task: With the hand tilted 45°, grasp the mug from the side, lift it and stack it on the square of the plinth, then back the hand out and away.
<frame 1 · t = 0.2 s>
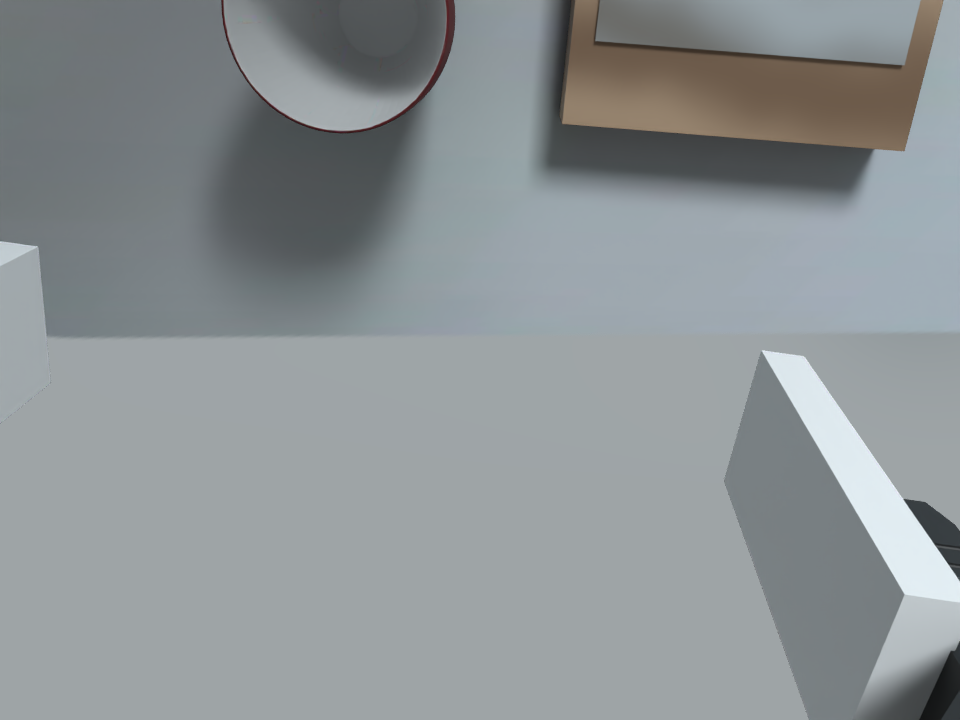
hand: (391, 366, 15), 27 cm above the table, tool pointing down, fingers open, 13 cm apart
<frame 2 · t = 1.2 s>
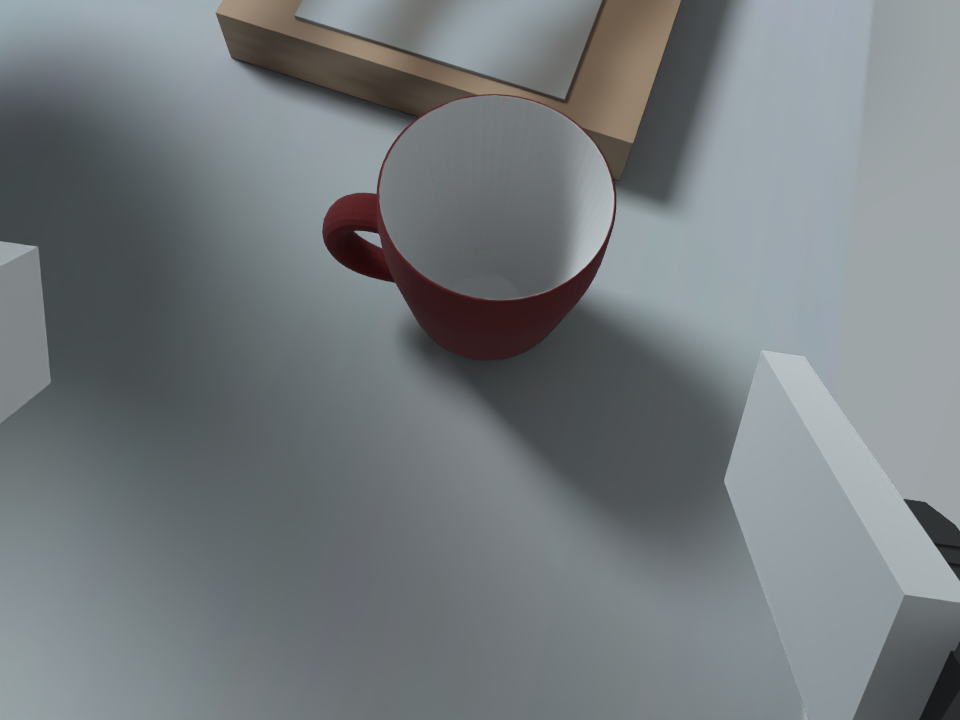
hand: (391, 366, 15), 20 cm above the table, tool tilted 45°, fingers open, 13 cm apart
mug: (456, 312, 38), on the table
plinth: (473, 3, 44), on the table
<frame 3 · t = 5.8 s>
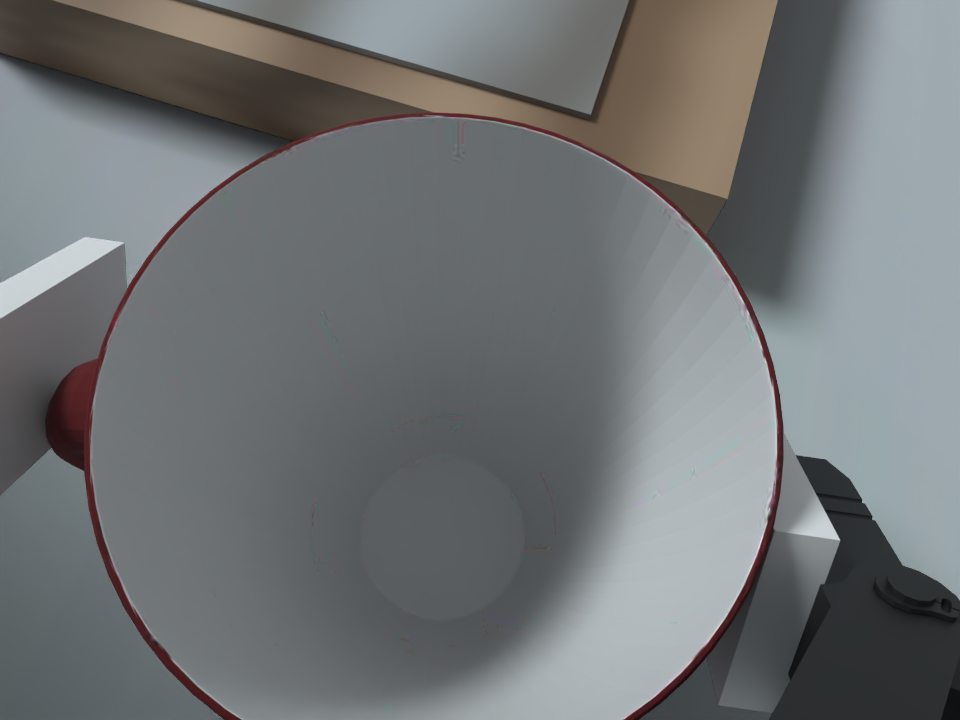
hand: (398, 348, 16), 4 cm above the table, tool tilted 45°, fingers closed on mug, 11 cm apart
mug: (388, 536, 19), on the table, touching gripper
when the fingers open (8 cm above the table, at t = 11.9 s): mug stays where it is, resting on plinth.
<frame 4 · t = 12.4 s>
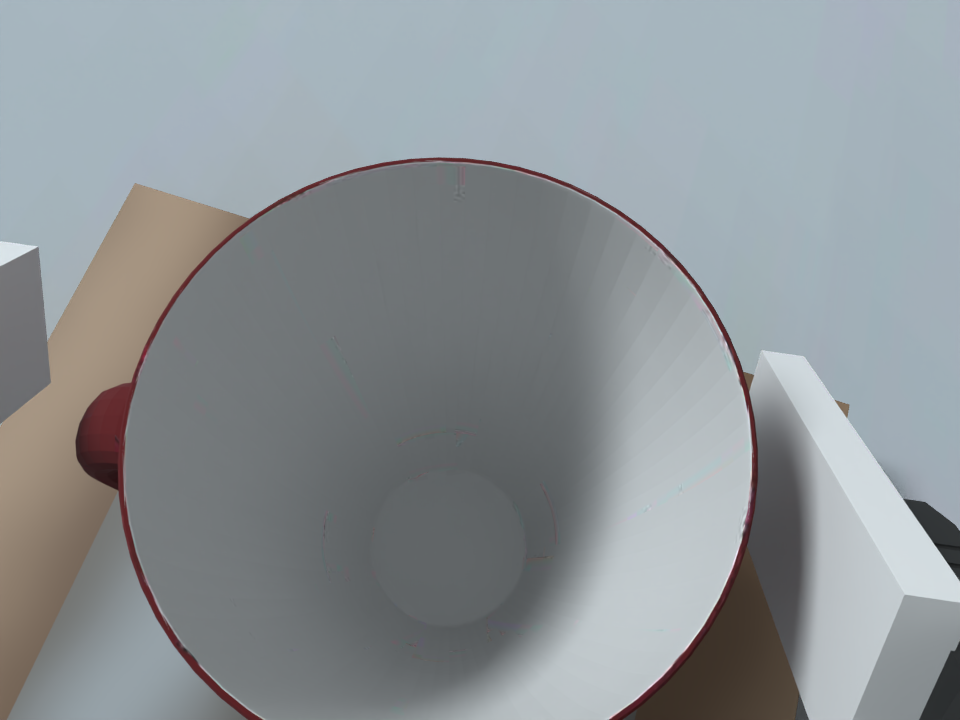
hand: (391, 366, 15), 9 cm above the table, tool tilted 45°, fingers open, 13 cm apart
mug: (396, 546, 20), point 3 cm above the table, touching plinth
plinth: (390, 577, 23), on the table
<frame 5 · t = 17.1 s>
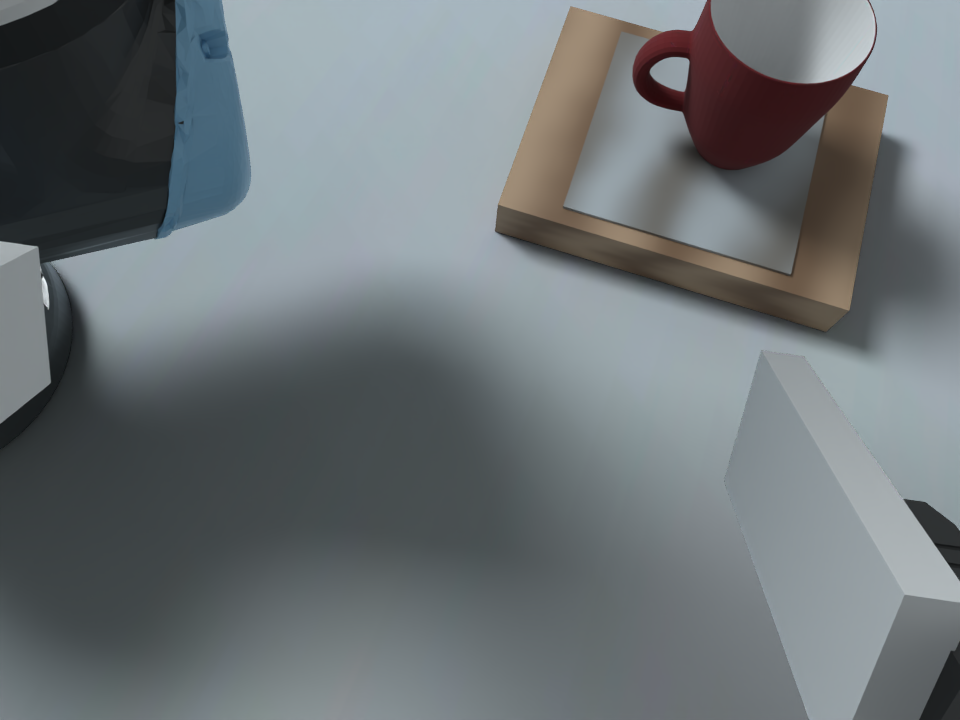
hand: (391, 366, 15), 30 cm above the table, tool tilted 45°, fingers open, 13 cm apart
mug: (705, 142, 49), point 3 cm above the table, touching plinth
plinth: (686, 176, 52), on the table
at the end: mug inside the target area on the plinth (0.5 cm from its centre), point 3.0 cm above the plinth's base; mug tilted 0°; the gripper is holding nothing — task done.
